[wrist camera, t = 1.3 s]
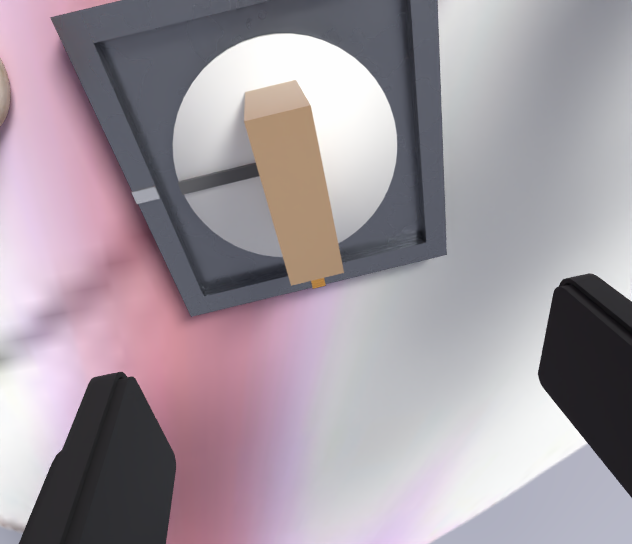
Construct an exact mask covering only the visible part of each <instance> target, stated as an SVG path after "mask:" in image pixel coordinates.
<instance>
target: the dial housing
mask: <svg viewBox="0 0 632 544" xmlns="http://www.w3.org/2000/svg"><path fill="white" fill-rule="evenodd" d="M50 18H51V20H52V22H53V24H54V26H55V29H56V31H57V33H58V35H59V37H60V39H61V41H62V43H63V46H64V48H65V50H66V52H67V54H68V56H69V58H70V60H71V63H72V65H73V67H74V69H75V71H76V73H77V75H78V77H79V80H80V82H81V84H82V86H83V88H84V90H85V92H86V94H87V97H88V99H89V101H90V103H91V105H92V107H93V109H94V111H95V114H96V116H97V118H98V120H99V122H100V124H101V126H102V128H103V131H104V133H105V135H106V137H107V139H108V141H109V143H110V145H111V148H112V150H113V152H114V154H115V156H116V158H117V160H118V162H119V165H120V167H121V169H122V171H123V173H124V175H125V177H126V179H127V182H128V184H129V186H130V188H131V190H132V195H133V197H134V199H135V201H136V203H137V204H138V205H139V207H140V209H141V211H142V213H143V216H144V218H145V220H146V222H147V224H148V226H149V228H150V230H151V233H152V235H153V237H154V239H155V241H156V243H157V245H158V247H159V250H160V252H161V254H162V256H163V258H164V260H165V262H166V264H167V267H168V269H169V271H170V273H171V275H172V277H173V279H174V281H175V284H176V286H177V288H178V290H179V292H180V294H181V296H182V298H183V301H184V303H185V305H186V307H187V309H188V311H189V313H190V315H191V317H192V316H196V315H200V314H205V313H209V312H213V311H217V310H221V309H225V308H229V307H233V306H237V305H242V304H246V303H250V302H254V301H258V300H262V299H266V298H270V297H274V296H279V295H283V294H287V293H291V292H295V291H299V290H303V289H307V288H311V287H313V289H314V288H318V287H322V286H326V285H325V284H328V283H332V282H336V281H340V280H344V279H348V278H352V277H357V276H361V275H365V274H369V273H373V272H377V271H381V270H385V269H389V268H394V267H398V266H402V265H406V264H410V263H414V262H418V261H422V260H426V259H431V258H435V257H439V256H443V255H447V251H446V223H445V195H444V167H443V140H442V112H441V84H440V57H439V29H438V1H437V0H121V1H117V2H113V3H108V4H104V5H100V6H96V7H92V8H88V9H84V10H79V11H75V12H71V13H67V14H63V15H59V16H55V17H50ZM273 33H294V34H301V35H308V36H311V37H314V38H318V39H321V40H324V41H326V42H328V43H330V44H333V45H335V46H337V47H339V48H340V49H342V50H343V51H345V52H347V53H348V54H350V55H351V56H353V57H354V58H355V59H356V60H357V61H359V62H360V63H361V64H362V65H363V66H364V67H365V68H366V69H367V70H368V71H369V72H370V73H371V75H372V76H373V77H374V78H375V79H376V81H377V82H378V84H379V86H380V87H381V89H382V90H383V92H384V94H385V96H386V98H387V100H388V103H389V105H390V107H391V111H392V114H393V117H394V121H395V127H396V133H397V157H396V165H395V169H394V173H393V177H392V180H391V183H390V186H389V188H388V191H387V193H386V195H385V197H384V199H383V201H382V202H381V204H380V205H379V207H378V208H377V210H376V211H375V213H374V214H373V215H372V216H371V217H370V219H369V220H368V221H367V222H366V223H365V224H364V225H363V226H362V227H361V228H360V229H359V230H357V231H356V232H355V233H354V234H352V235H351V236H350V237H348V238H347V239H345V240H343V241H342V242H340V243H338V245H339V250H340V255H341V260H342V265H343V270H344V273H341V274H337V275H333V276H329V277H325V278H321V279H317V280H313V281H308V282H304V283H300V284H296V285H292V286H291V284H290V280H289V277H288V273H287V270H286V266H285V263H284V259H283V257H272V256H266V255H260V254H257V253H253V252H249V251H246V250H244V249H242V248H239V247H237V246H235V245H233V244H231V243H229V242H227V241H226V240H224V239H223V238H221V237H220V236H218V235H217V234H216V233H214V232H213V231H212V230H211V229H210V228H209V227H208V226H206V225H205V224H204V223H203V222H202V220H201V219H200V218H199V217H198V216H197V214H196V213H195V212H194V211H193V209H192V207H191V206H190V204H189V203H188V201H187V200H186V198H185V195H182V193H181V190H180V188H179V185H178V178H177V175H176V170H175V165H174V159H173V135H174V127H175V122H176V118H177V114H178V111H179V108H180V106H181V103H182V101H183V98H184V96H185V95H186V93H187V91H188V89H189V88H190V86H191V84H192V83H193V81H194V80H195V79H196V77H197V76H198V75H199V73H200V72H201V71H202V70H203V68H204V67H206V66H207V65H208V64H209V63H210V62H211V61H212V60H213V59H214V58H215V57H216V56H218V55H219V54H221V53H222V52H224V51H225V50H226V49H228V48H230V47H232V46H234V45H236V44H238V43H240V42H242V41H244V40H247V39H250V38H254V37H257V36H261V35H267V34H273Z"/></svg>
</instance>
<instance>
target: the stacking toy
mask: <svg viewBox="0 0 632 544" xmlns="http://www.w3.org/2000/svg"><path fill="white" fill-rule="evenodd" d="M9 106H10V85H9V79H8V75H7V72H6V69H5V67H4V64H3V62H2V60H1V58H0V126H1V125H2V124H3V122H4V120H5V118H6V116H7V113H8V110H9Z"/></svg>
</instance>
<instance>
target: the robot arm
mask: <svg viewBox="0 0 632 544" xmlns="http://www.w3.org/2000/svg"><path fill="white" fill-rule="evenodd" d="M538 376H539V380H540V383H541V385H542V387H543V388H544V389H545V391H546V392H547V393H548V394H549V396H550V397H551V398H552V399H553V401H554V402H555V403H556V404H557V406H558V407H559V408H560V409H561V410H562V412H563V413H564V414H565V415H566V417H567V418H568V419H569V420H570V422H571V423H572V424H573V425H574V427H575V428H576V429H577V430H578V432H579V433H580V434H581V435H582V437H583V438H584V439H585V440H586V442H587V443H588V444H589V445H590V446H591V448H592V449H593V450H594V451H595V453H596V454H597V455H598V456H599V458H600V459H601V460H602V461H603V463H604V464H605V465H606V466H607V468H608V469H609V470H610V471H611V472H612V474H613V475H614V476H615V477H616V479H617V480H618V481H619V483H620V484H621V485H622V486H623V487H624V489H625V490H626V491H627V492H628V494H629V495H630V496H631V497H632V302H631V301H630V300H629V299H627V298H626V297H625V296H623V295H622V294H620V293H619V292H618V291H616V290H615V289H614V288H612V287H611V286H610V285H608V284H607V283H606V282H604V281H603V280H602V279H600V278H599V277H598V276H596V275H594V274H585V275H580V276H576V277H571V278H566V279H563V280H562V281H561V282H560V285H559V287H557V288H556V289H555V290H554V293H553V298H552V303H551V308H550V314H549V319H548V324H547V329H546V334H545V339H544V345H543V350H542V355H541V360H540V365H539V370H538ZM175 472H176V460H175V455H174V453H173V451H172V449H171V447H170V445H169V443H168V441H167V439H166V437H165V435H164V433H163V431H162V429H161V427H160V425H159V423H158V421H157V419H156V418H155V416H154V414H153V412H152V410H151V408H150V406H149V404H148V402H147V400H146V398H145V396H144V394H143V392H142V390H141V388H140V387H139V385H138V383H137V381H136V379H135V378H134V377H127V376H126V375H125V374H124V373H123V372H117V373H113V374H108V375H103V376H98V377H94V378H92V379H91V381H90V382H89V384H88V387H87V389H86V392H85V394H84V397H83V399H82V402H81V404H80V407H79V409H78V412H77V414H76V417H75V419H74V422H73V424H72V427H71V429H70V432H69V434H68V437H67V439H66V442H65V444H64V447H63V449H62V450H61V451H60V452H59V453H58V454H57V455H56V457H55V459H54V461H53V462H52V464H51V467H50V469H49V472H48V474H47V477H46V479H45V481H44V484H43V486H42V489H41V491H40V494H39V496H38V498H37V501H36V503H35V506H34V508H33V511H32V513H31V515H30V518H29V520H28V523H27V525H26V528H25V530H24V532H23V535H22V538H21V540H20V542H19V544H166V538H167V531H168V523H169V516H170V509H171V501H172V494H173V487H174V479H175Z"/></svg>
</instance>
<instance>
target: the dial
mask: <svg viewBox="0 0 632 544" xmlns="http://www.w3.org/2000/svg"><path fill="white" fill-rule="evenodd" d="M396 157H397V133H396V127H395V121H394V117H393V114H392V111H391V107H390V105H389V103H388V100H387V98H386V96H385V94H384V92H383V90H382V89H381V87H380V86H379V84H378V82H377V81H376V79H375V78H374V77H373V76H372V75H371V73H370V72H369V71H368V70H367V69H366V68H365V67H364V66H363V65H362V64H361V63H360V62H359V61H357V60H356V59H355V58H354V57H353V56H351V55H350V54H348V53H347V52H345V51H343V50H342V49H340V48H339V47H337V46H335V45H333V44H330V43H328V42H326V41H324V40H321V39H318V38H314V37H311V36H308V35H301V34H294V33H273V34H267V35H261V36H257V37H254V38H250V39H247V40H244V41H242V42H240V43H238V44H236V45H234V46H232V47H230V48H228V49H226V50H225V51H224V52H222V53H221V54H219V55H218V56H216V57H215V58H214V59H213V60H212V61H211V62H210V63H209V64H208V65H207V66H206V67H204V68H203V70H202V71H201V72H200V73H199V75H198V76H197V77H196V79H195V80H194V81H193V83H192V84H191V86H190V88H189V89H188V91H187V93H186V95H185V96H184V98H183V101H182V103H181V106H180V108H179V111H178V114H177V118H176V122H175V127H174V135H173V159H174V165H175V170H176V175H177V178H178V185H179V188H180V190H181V193H182V195H185V198H186V200H187V201H188V203H189V204H190V206H191V207H192V209H193V211H194V212H195V213H196V214H197V216H198V217H199V218H200V219H201V220H202V222H203V223H204V224H205V225H206V226H208V227H209V228H210V229H211V230H212V231H213V232H214V233H216V234H217V235H218V236H220V237H221V238H223V239H224V240H226V241H227V242H229V243H231V244H233V245H235V246H237V247H239V248H242V249H244V250H246V251H249V252H253V253H257V254H260V255H266V256H272V257H283V259H284V263H285V266H286V270H287V273H288V277H289V280H290V284H291V286H292V285H296V284H300V283H304V282H308V281H313V280H317V279H321V278H325V277H329V276H333V275H337V274H341V273H344V270H343V265H342V260H341V255H340V250H339V245H338V243H340V242H342V241H343V240H345V239H347V238H348V237H350V236H351V235H352V234H354V233H355V232H356V231H357V230H359V229H360V228H361V227H362V226H363V225H364V224H365V223H366V222H367V221H368V220H369V219H370V217H371V216H372V215H373V214H374V213H375V211H376V210H377V208H378V207H379V205H380V204H381V202H382V201H383V199H384V197H385V195H386V193H387V191H388V188H389V186H390V183H391V180H392V177H393V173H394V169H395V165H396Z"/></svg>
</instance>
